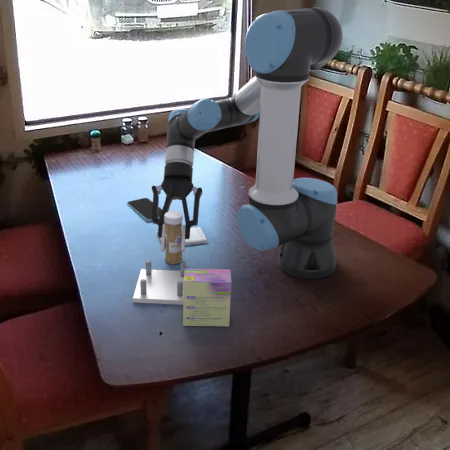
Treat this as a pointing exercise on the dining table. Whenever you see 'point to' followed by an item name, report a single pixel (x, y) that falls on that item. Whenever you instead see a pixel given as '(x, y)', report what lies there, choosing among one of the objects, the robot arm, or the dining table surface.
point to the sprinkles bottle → (173, 236)
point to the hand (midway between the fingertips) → (172, 250)
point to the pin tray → (160, 286)
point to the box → (206, 297)
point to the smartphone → (144, 208)
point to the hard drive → (194, 236)
